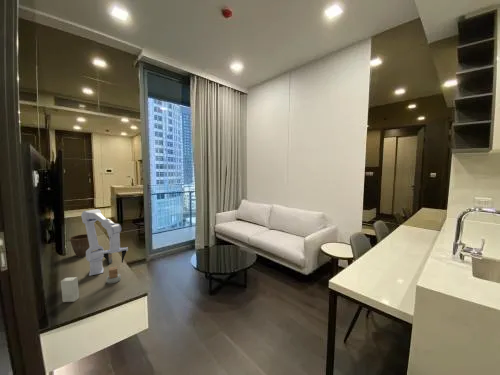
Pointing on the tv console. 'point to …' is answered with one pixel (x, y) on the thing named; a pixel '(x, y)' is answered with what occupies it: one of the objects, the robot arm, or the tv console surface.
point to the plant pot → (80, 244)
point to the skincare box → (70, 289)
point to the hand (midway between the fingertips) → (115, 263)
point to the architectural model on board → (110, 257)
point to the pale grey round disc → (113, 279)
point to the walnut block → (113, 272)
